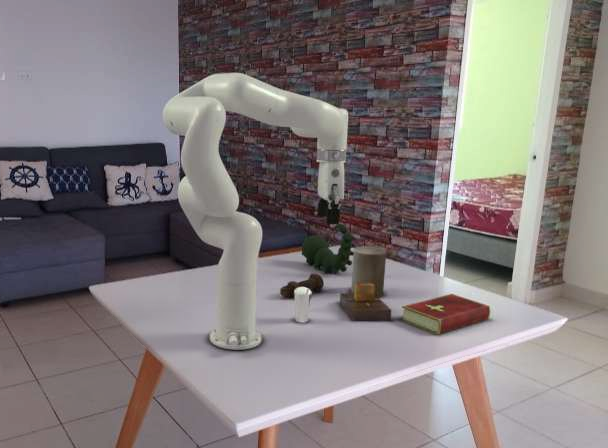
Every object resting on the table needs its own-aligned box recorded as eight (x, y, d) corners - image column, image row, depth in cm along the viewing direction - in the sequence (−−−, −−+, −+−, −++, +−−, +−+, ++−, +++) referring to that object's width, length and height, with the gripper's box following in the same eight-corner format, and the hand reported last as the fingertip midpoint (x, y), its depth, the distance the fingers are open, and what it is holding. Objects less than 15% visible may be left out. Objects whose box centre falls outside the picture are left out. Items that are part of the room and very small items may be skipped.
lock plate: (390, 320, 151) (391, 309, 151) (353, 320, 151) (354, 309, 150) (373, 302, 165) (374, 292, 164) (339, 302, 165) (340, 292, 164)
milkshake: (298, 325, 147) (300, 289, 145) (290, 318, 152) (291, 282, 150) (314, 323, 148) (316, 287, 146) (305, 316, 153) (307, 281, 151)
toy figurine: (356, 280, 192) (309, 257, 213) (363, 227, 187) (314, 208, 207) (335, 284, 187) (289, 260, 208) (342, 229, 182) (294, 210, 203)
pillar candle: (390, 295, 171) (393, 248, 168) (363, 299, 168) (366, 250, 165) (369, 286, 180) (373, 240, 177) (344, 289, 177) (347, 243, 173)
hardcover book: (489, 320, 152) (491, 305, 151) (439, 335, 142) (440, 319, 141) (450, 306, 162) (451, 292, 161) (400, 319, 152) (402, 305, 151)
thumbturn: (371, 298, 159) (372, 282, 158) (373, 300, 157) (374, 284, 156) (353, 298, 159) (354, 282, 158) (355, 301, 157) (357, 284, 156)
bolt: (280, 303, 168) (315, 292, 177) (291, 299, 164) (326, 288, 173) (274, 285, 170) (309, 275, 178) (284, 280, 166) (319, 270, 174)
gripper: (355, 159, 139) (350, 227, 143) (336, 153, 156) (333, 214, 160) (325, 159, 139) (321, 227, 142) (309, 153, 156) (306, 214, 159)
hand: (327, 220), depth 151 cm, fingers open, 9 cm apart
